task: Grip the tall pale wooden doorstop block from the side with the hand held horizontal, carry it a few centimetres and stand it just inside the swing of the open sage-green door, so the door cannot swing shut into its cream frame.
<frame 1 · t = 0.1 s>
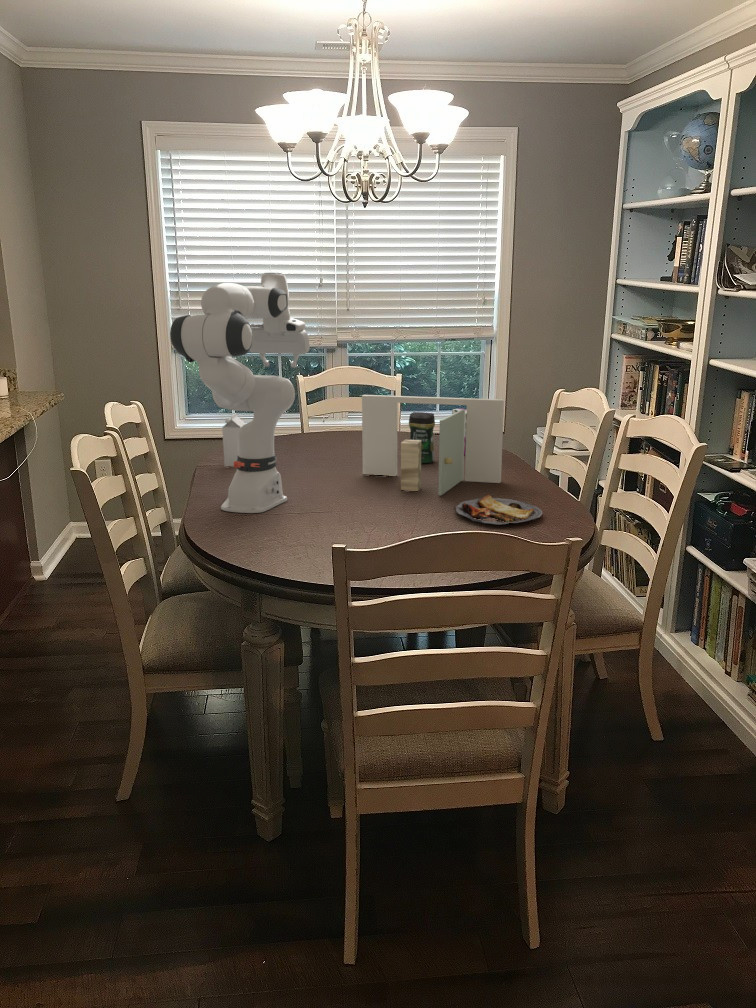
hand: (280, 366, 265), 39 cm above the table, tool pointing down, fingers open, 8 cm apart
milk carton: (236, 466, 298), on the table
door: (454, 451, 262), point 12 cm above the table, hinge at 80.0°
coffee jar: (421, 462, 303), on the table
doorstop block: (410, 489, 265), on the table
food plate: (497, 516, 237), on the table
door frame: (430, 478, 278), on the table
candy bar box: (463, 452, 318), on the table
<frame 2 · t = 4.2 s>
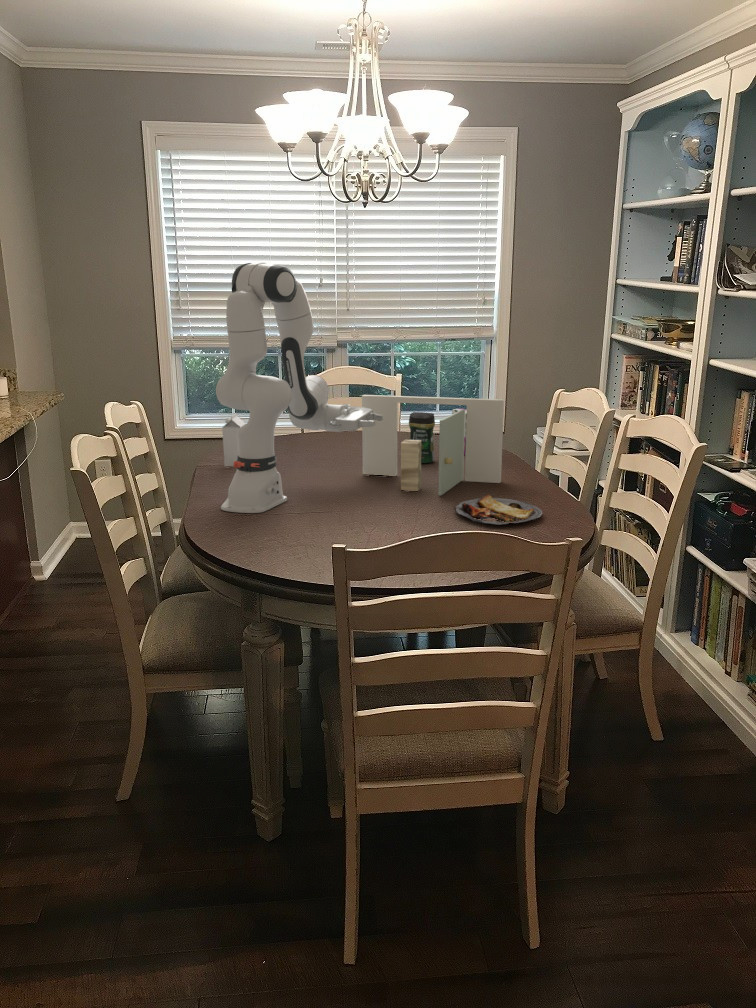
hand: (378, 420, 261), 22 cm above the table, tool horizontal, fingers open, 8 cm apart
nothing on the table moved.
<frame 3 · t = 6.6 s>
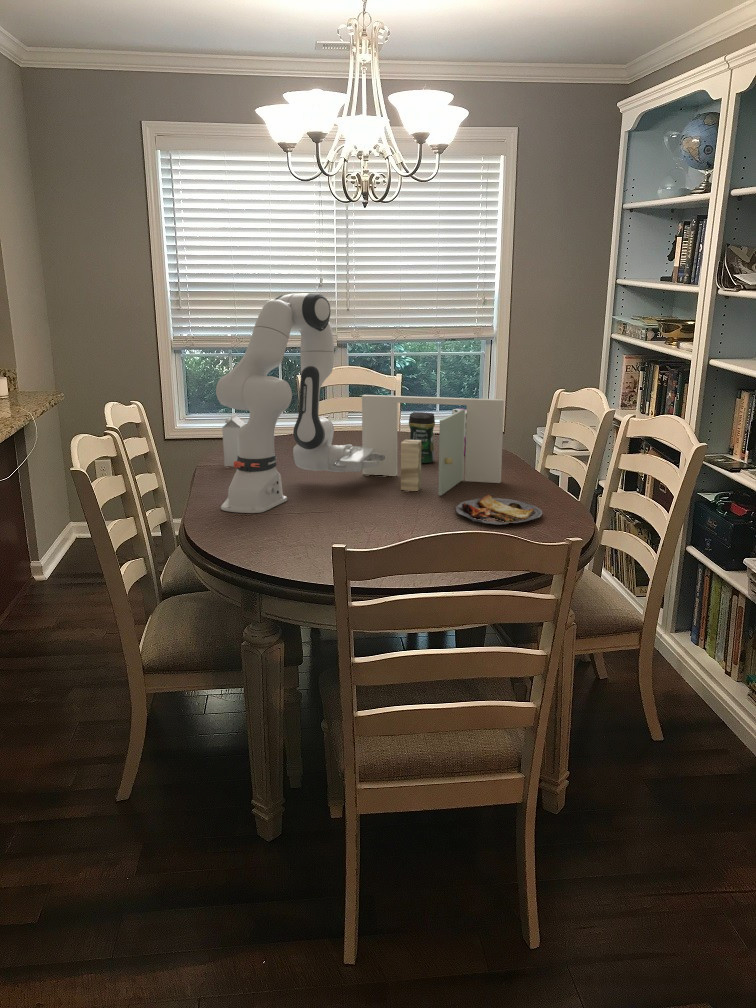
hand: (381, 460, 265), 9 cm above the table, tool horizontal, fingers open, 8 cm apart
nothing on the table moved.
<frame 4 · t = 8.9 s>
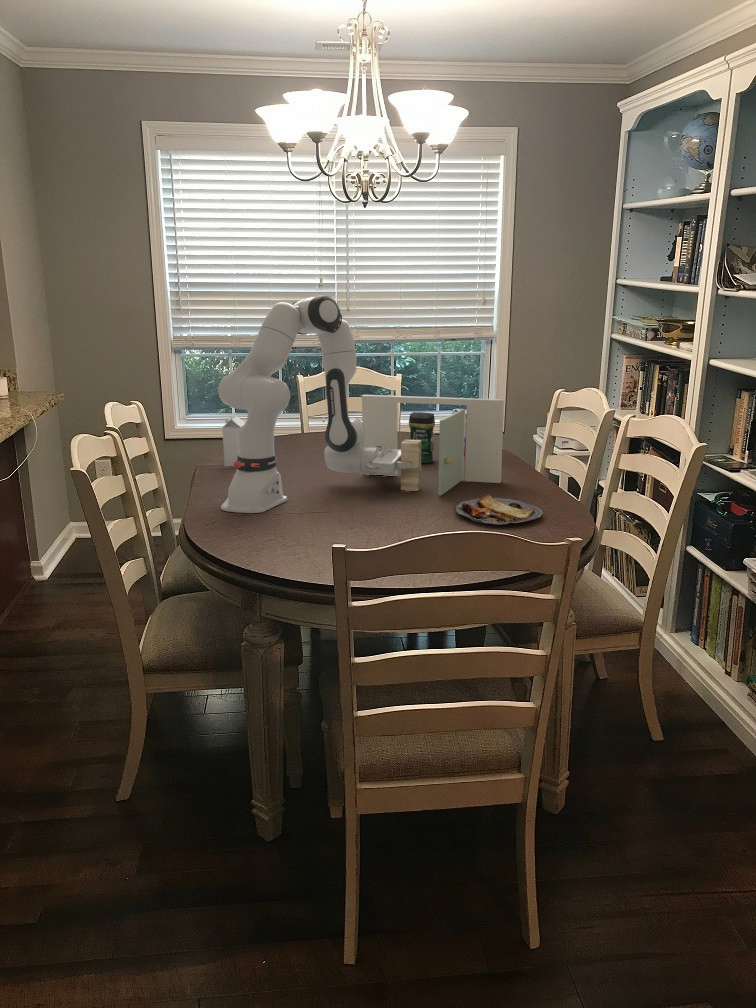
hand: (413, 462, 262), 9 cm above the table, tool horizontal, fingers closed on doorstop block, 5 cm apart
doorstop block: (410, 489, 265), on the table, touching gripper
everything else where it was.
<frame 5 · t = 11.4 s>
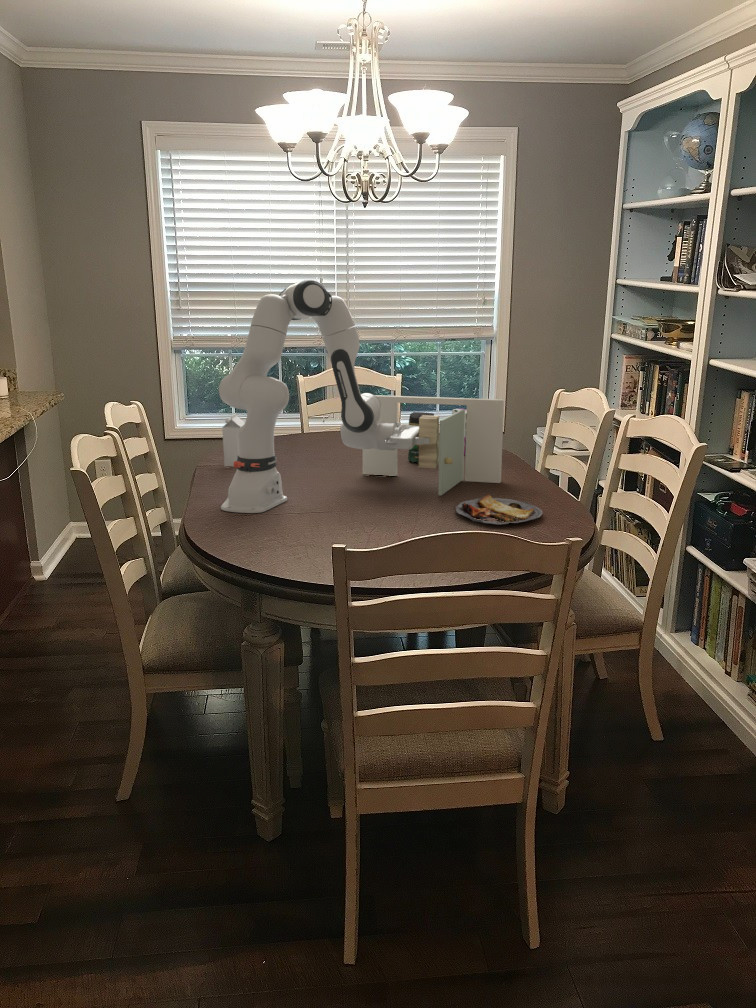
hand: (431, 438, 259), 17 cm above the table, tool horizontal, fingers closed on doorstop block, 5 cm apart
doorstop block: (428, 465, 262), point 8 cm above the table, touching gripper
everything else where it was.
when the fingers open (10 cm above the table, at t = 13.7 s): doorstop block drops 1 cm, on the table.
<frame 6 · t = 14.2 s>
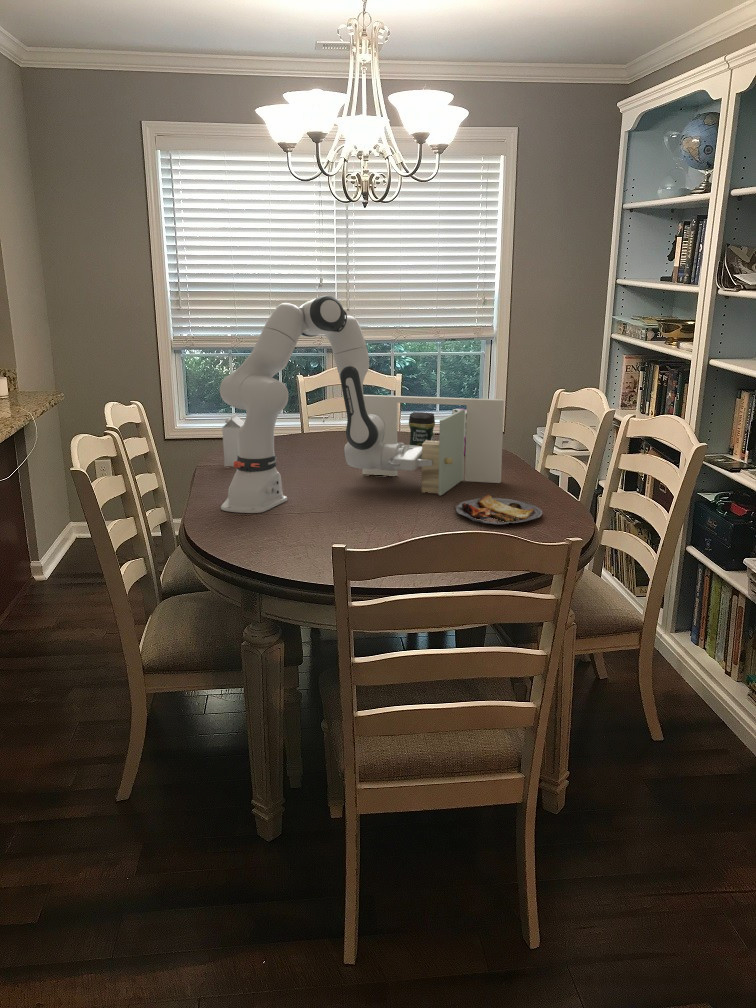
hand: (435, 459, 260), 10 cm above the table, tool horizontal, fingers open, 8 cm apart
doorstop block: (431, 490, 263), on the table
everything else where it was.
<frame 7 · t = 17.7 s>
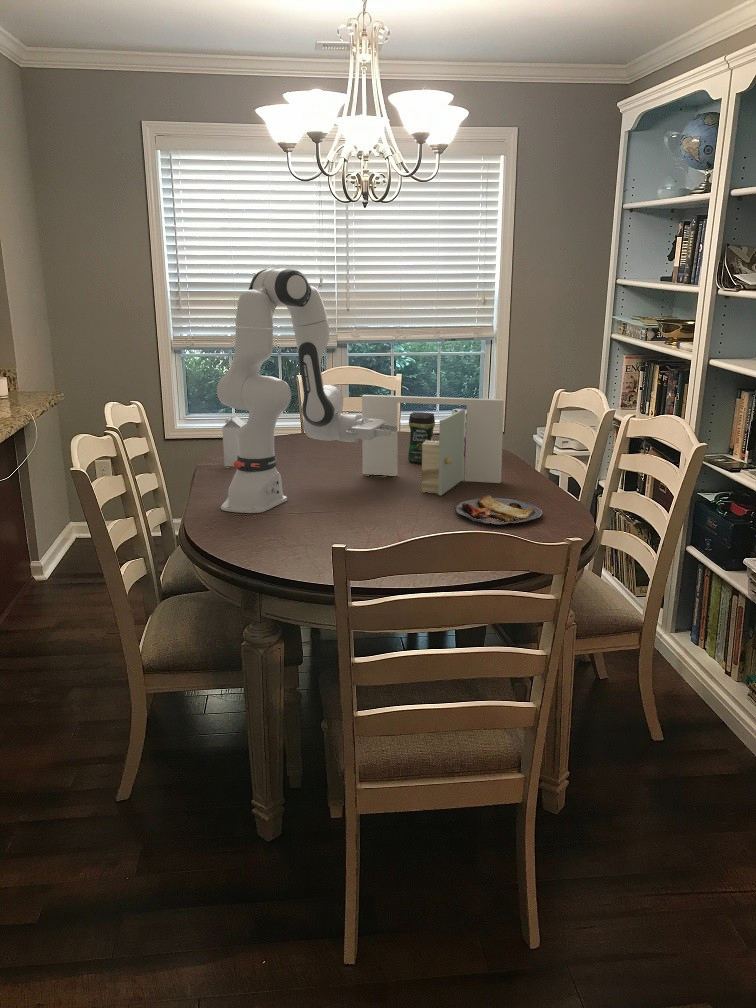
hand: (393, 430, 260), 19 cm above the table, tool horizontal, fingers open, 8 cm apart
nothing on the table moved.
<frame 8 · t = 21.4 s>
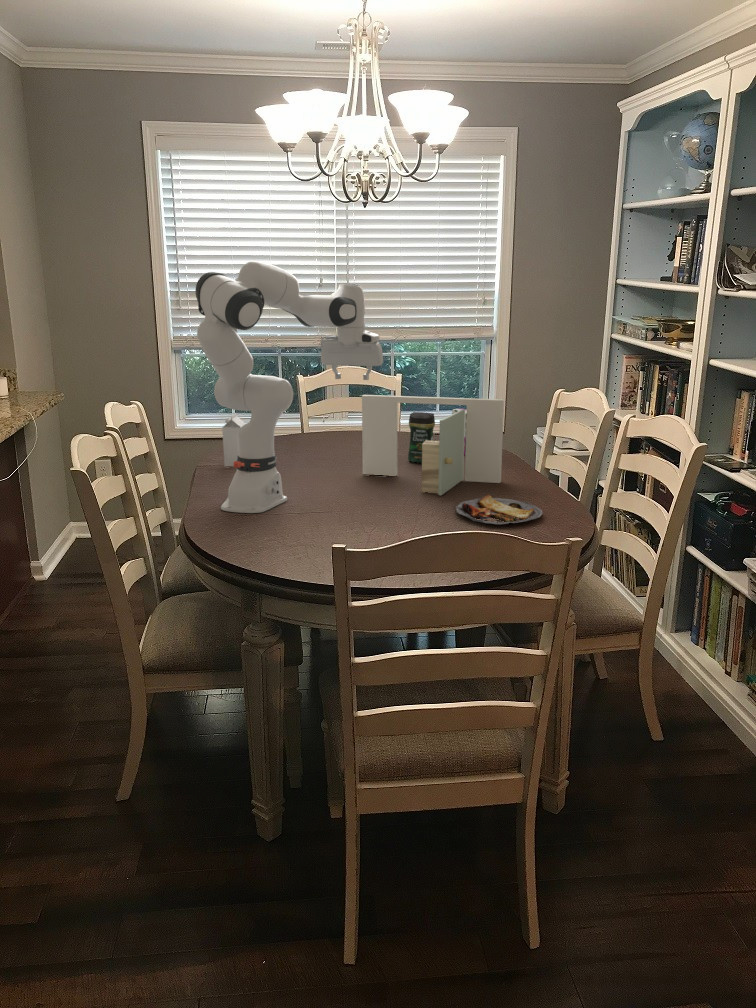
hand: (352, 379, 262), 35 cm above the table, tool pointing down, fingers open, 8 cm apart
nothing on the table moved.
at the end: doorstop block 0.0 cm from the target spot, on the table; doorstop block tilted 0°; door at +80° (first picture: +80°) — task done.
